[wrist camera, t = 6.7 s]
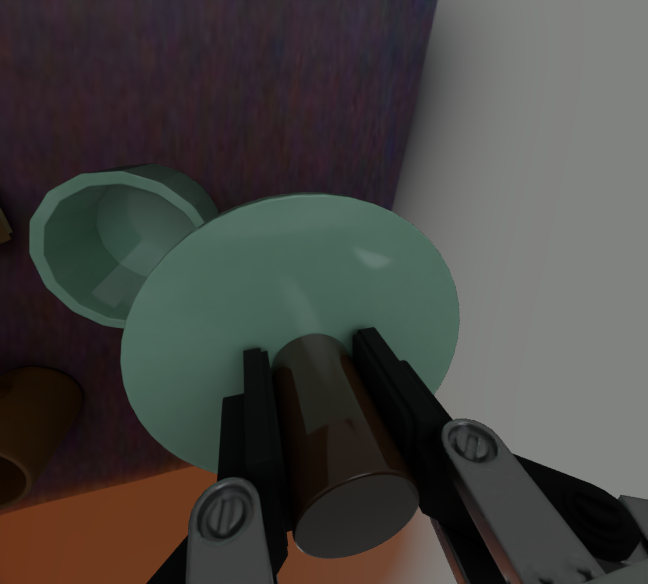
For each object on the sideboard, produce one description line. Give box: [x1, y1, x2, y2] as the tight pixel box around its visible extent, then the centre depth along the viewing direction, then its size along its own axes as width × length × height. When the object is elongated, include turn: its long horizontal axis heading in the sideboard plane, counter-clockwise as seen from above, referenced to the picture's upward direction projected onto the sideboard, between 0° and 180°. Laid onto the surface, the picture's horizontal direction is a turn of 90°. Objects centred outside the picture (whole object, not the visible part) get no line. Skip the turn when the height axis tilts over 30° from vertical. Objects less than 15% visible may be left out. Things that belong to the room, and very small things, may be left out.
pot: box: [29, 164, 219, 328], centre depth 24 cm, size 11×11×8 cm
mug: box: [0, 367, 83, 510], centre depth 26 cm, size 12×8×9 cm, turn 0°
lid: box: [120, 192, 460, 559], centre depth 9 cm, size 12×12×6 cm
